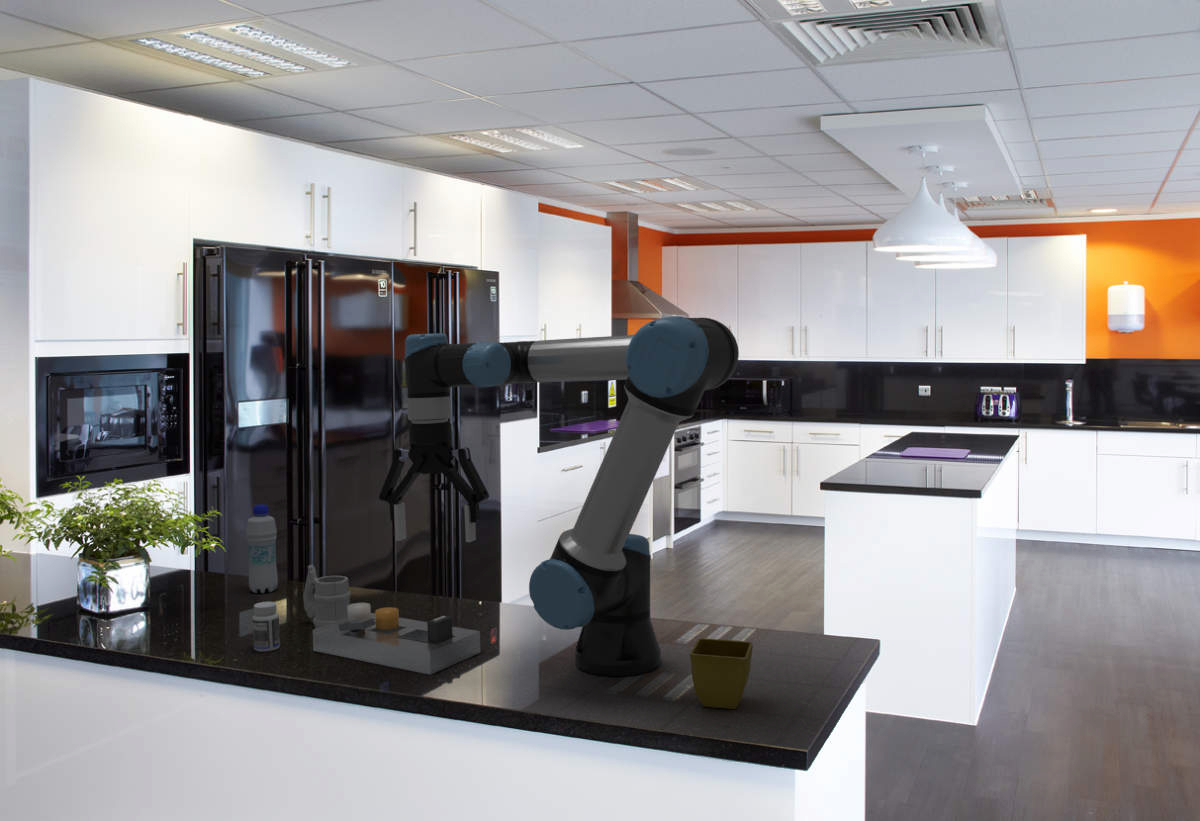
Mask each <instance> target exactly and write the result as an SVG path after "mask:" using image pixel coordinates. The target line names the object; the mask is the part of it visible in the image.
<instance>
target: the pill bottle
mask: <svg viewBox="0 0 1200 821" xmlns="http://www.w3.org/2000/svg"><path fill="white" fill-rule="evenodd" d="M253 613H254V615H252V619H251V620H252V639H253V650H255V652H260V653H261V652H263V653H264V652H271V651H276V650H278V649H279V648H280V647H281V639H280V638H281V636H280V616H279V613H278V612H277V603H276V602H275V601H262V602H256V603H255V604H253Z"/></svg>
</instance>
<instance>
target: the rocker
mask: <svg viewBox="0 0 1200 821" xmlns="http://www.w3.org/2000/svg"><path fill="white" fill-rule="evenodd" d="M373 625H375V622H374V618H371V619H362V620H353V621H348V622H345V623H342V624H339V630H340V631H347V630H357V629H364V628H367V627H370V626H373Z"/></svg>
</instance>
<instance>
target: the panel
mask: <svg viewBox="0 0 1200 821" xmlns="http://www.w3.org/2000/svg"><path fill="white" fill-rule="evenodd" d="M371 618H374V622H375V625H373V626H370V627H367V628H364V629H357V630H347V631H340V630H339V624H342V623H345V622H348V618H346V619H343V620H340V621H337V622H334V623H331V624H328V625H325V626H322V627H319V628H316V629H315V628H313V629H312V651H313V652H318V653H321V654H327V655H332V656H337V657H342V658H346V659H350V660H351V659H352V660H356V661H362V662H366V663H369V664H370V663H371V664H376V665H380V666H386V667H391V668H395V669H400V670H406V671H409V672H414V673H415V672H416V673H419V674H420V673H421V674H424V675H433V674H435V673H437V672H440V671H442V670H445V669H447V668H449V667H451V666H453V665H456V664H458V663H460V662H463V661H465V660H467V659H469V658H472V657H473V656H476V655H478V654H481V631H480V630H474V629H468V628H464V627H458V626H457V627H456V626H452V634H453V637H452V638H450V639H447V640H445V641H442V642H440V643H433V642H428V628H427V621H422V620H416V619H411V618H410V619H409V618H405V617H404V618H403V617H399V627H397V628H394V629H387V630H382V629H377V628H376V616H375V612H371Z"/></svg>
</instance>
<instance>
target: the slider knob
mask: <svg viewBox="0 0 1200 821" xmlns="http://www.w3.org/2000/svg"><path fill="white" fill-rule="evenodd" d="M426 622H427V628H428V642H433V643H440V642H442V641H445V640H447V639H450V638H452V637H453V634H452V627H453V617H452V616H447V615H446V616H445V615H441V616H438V617H435V618H433V619H430V620H428V621H426Z"/></svg>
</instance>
